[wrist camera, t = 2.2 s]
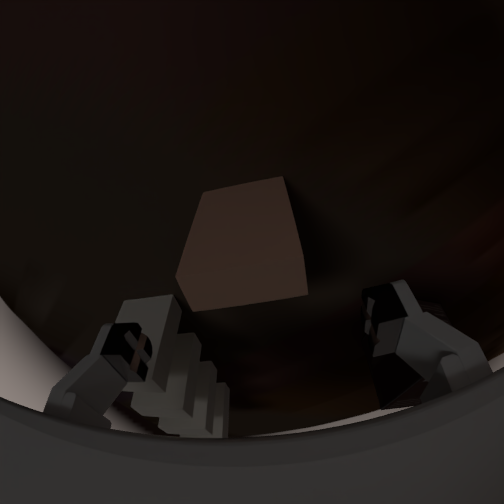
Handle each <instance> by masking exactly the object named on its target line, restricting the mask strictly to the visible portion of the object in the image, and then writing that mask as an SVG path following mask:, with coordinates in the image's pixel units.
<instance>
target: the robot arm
mask: <svg viewBox="0 0 504 504" xmlns="http://www.w3.org/2000/svg"><path fill="white" fill-rule="evenodd" d="M362 300H363V305H362V306H361V321H362V326H363V329H364V332H365V333H367V334H368V335H369V337H368V344H369V347H370V350H371V353H372V356H373V357H376V356H381V355H385V354H389V353H393V352H396V354H397V355H398V356H399V357H400V358H402V359H403V360H404V361H405V362H406V363H407V364H408V365H410V366H411V367H412V368H413V369H414V370H415V371H416V372H417V373H419V374H420V375H421V376H422V377H423V378H424V379H425V380H427V381H428V382H429V383H428V385H427V386H426V388H425V390H424V391H423V393H422V395H421V396H420V399H421V402H422V404H419V405H416V406H413V407H411V408H407V409H404V410H401V411H398V412H394V413H391V414H387V415H384V416H380V417H377V418H373V419H369V420H365V421H361V422H357V423H352V424H347V425H343V426H337V427H332V428H326V429H320V430H315V431H308V432H301V433H293V434H284V435H274V436H261V437H245V438H189V437H171V436H159V435H149V434H141V433H133V432H125V431H120V430H113V429H110V428H111V422H110V421H109V420H108V419H107V418H105V417H104V416H103V414H104V413H105V412H106V410H107V409H108V408H109V407H110V405H111V404H112V403H113V401H114V400H115V399H116V397H117V396H118V395H119V394H120V392H121V391H122V390H123V388H124V387H125V386H126V385H127V382H145V380H146V376H147V372H148V366H147V364H146V363H147V362H148V361H149V360H150V359H151V357H152V353H153V352H152V344H151V341H150V339H149V338H148V336H146V335H145V334H143V333H141V332H142V328H141V326H140V325H139V324H138V323H135V322H131V323H114V324H104V325H103V326H102V328H101V330H100V332H99V334H98V337H97V339H96V341H95V343H94V346H93V348H92V350H91V353H90V355H86V356H85V357H84V358H83V359H82V360H81V361H80V362H79V363H78V364H77V365H76V366H75V367H74V368H73V369H72V370H71V371H70V372H68V374H66V375H65V376H64V377H63V378H62V379H61V380H60V381H59V382H58V383H57V384H56V385H55V386H54V387H53V388H52V390H51V393H50V395H49V397H48V401H47V403H46V405H45V408H44V411H43V412H39V411H36V410H33V409H30V408H28V407H25V406H22V405H19V404H17V403H14V402H11V401H8V400H6V399H4V398H2V397H0V504H504V367H503V368H501V369H499V370H497V371H495V372H494V373H493V372H492V370H491V368H490V366H489V364H488V361H487V359H486V357H485V355H484V353H483V351H482V350H481V348H480V346H479V344H478V342H476V341H474V340H473V339H471V338H470V337H468V336H466V335H465V334H463V333H461V332H460V331H458V330H457V329H455V328H453V327H452V326H450V325H448V324H447V323H445V322H443V321H442V320H440V319H438V318H437V317H435V316H433V315H432V314H430V313H428V312H424V313H423V311H422V310H421V308H420V306H419V304H418V302H417V300H416V299H415V297H414V295H413V293H412V292H411V290H410V288H409V286H408V285H407V283H406V281H404V280H399V281H395V282H391V283H387V284H382V285H378V286H374V287H369V288H365V289H363V290H362Z"/></svg>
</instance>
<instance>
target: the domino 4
mask: <svg viewBox="0 0 504 504" xmlns="http://www.w3.org/2000/svg"><path fill="white" fill-rule="evenodd" d="M229 395H230V389H229V387H228V386H227V384H226V383H225V382H222V383H216V393H215V406H214V420H213V435H187V434H180V437H189V438H228V418H229Z"/></svg>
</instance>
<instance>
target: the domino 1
mask: <svg viewBox="0 0 504 504" xmlns="http://www.w3.org/2000/svg"><path fill="white" fill-rule="evenodd" d="M181 314H182V310H181V308H180V306H179V304H178V303H177V301H176V299H175V297H174V295H165V296H158V297H150V298H142V299H135V300H127V301H124V302H123V305H122V307H121V310H120V312H119V314H118V317H117V319H116V322H115V323H131V322H135V323H138V324H139V325H140V326H141V328H142V332H141V333H143V334H145V335H146V336H148V338H149V339H150V341H151V344H152V352H153V353H152V357H151V359H150V360H149V361H148V362H147V363H146V364H147V366H148V372H147V376H146V380H145V382H127V385H126V386H125V387H124V388H123V390H122V391H132V392H155V393H166V387H167V382H168V376H169V371H170V366H171V361H172V356H173V351H174V346H175V341H176V337H177V332H178V327H179V323H180V318H181Z"/></svg>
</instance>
